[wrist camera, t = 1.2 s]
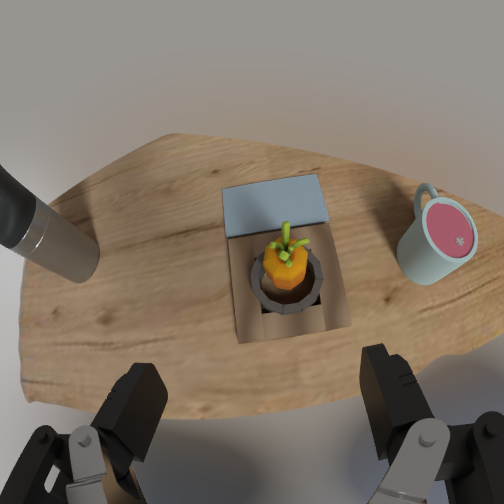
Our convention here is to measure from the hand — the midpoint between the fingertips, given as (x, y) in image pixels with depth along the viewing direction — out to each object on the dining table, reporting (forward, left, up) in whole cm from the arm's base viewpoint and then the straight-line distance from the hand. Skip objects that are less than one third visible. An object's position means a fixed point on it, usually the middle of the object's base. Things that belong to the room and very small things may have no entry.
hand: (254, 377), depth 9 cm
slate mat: (+2, +24, -27) cm, 36 cm away
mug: (+24, +13, -27) cm, 39 cm away
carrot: (+2, +11, -27) cm, 29 cm away
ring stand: (+2, +11, -27) cm, 29 cm away
